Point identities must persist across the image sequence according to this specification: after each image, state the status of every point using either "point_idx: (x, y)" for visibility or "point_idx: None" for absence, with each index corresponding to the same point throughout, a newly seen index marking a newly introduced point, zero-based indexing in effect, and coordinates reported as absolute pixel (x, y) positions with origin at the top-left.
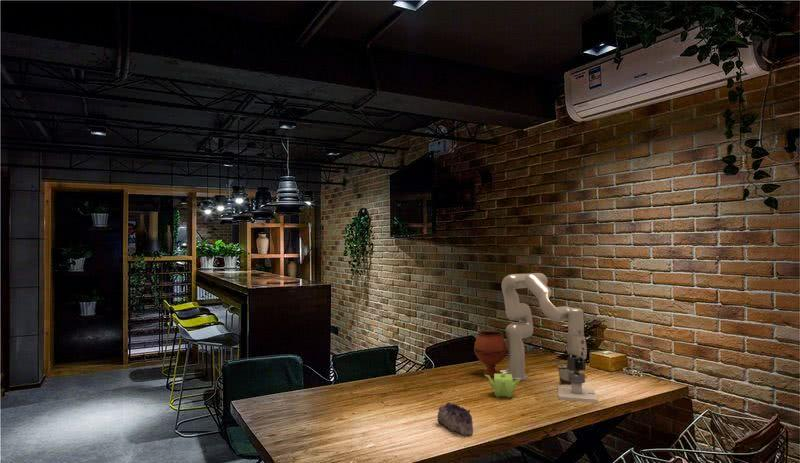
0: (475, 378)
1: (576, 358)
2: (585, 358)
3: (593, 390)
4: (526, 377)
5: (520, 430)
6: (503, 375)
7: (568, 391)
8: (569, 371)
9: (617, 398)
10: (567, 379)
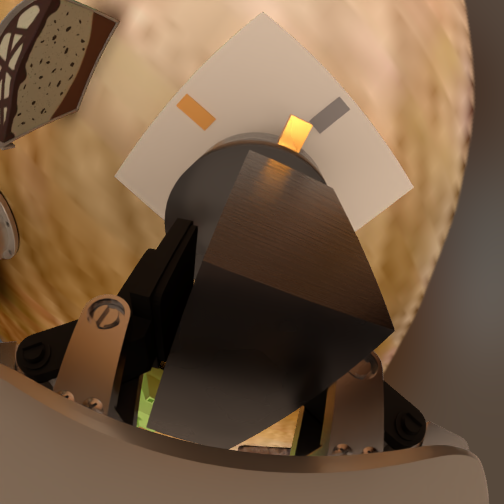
0: (19, 314)
1: (255, 423)
2: (450, 437)
3: (288, 43)
4: (4, 208)
5: None
6: (138, 424)
7: None
8: (40, 66)
9: (420, 31)
10: (71, 76)
